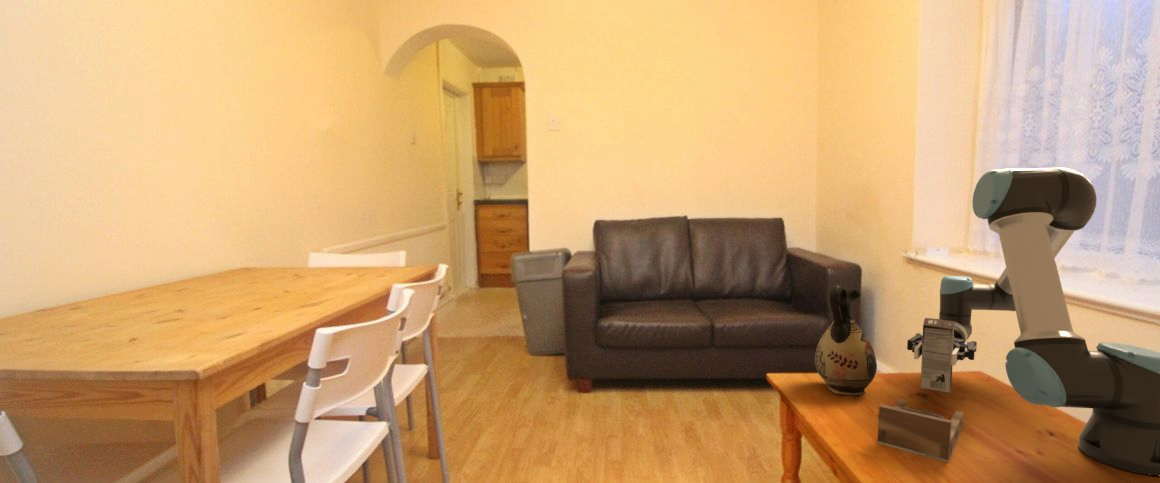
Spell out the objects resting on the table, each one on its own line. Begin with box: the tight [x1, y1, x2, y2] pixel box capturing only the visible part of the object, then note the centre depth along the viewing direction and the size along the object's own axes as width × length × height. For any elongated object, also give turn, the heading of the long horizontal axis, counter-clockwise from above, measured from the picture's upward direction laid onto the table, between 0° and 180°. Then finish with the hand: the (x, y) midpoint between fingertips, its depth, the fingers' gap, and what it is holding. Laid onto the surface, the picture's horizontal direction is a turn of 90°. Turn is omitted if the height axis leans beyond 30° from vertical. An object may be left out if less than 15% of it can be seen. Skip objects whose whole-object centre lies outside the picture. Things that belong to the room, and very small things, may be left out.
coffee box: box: [920, 317, 954, 393], centre depth 133 cm, size 9×6×16 cm
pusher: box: [902, 407, 945, 419], centre depth 120 cm, size 5×8×4 cm, turn 48°
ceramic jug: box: [814, 284, 878, 397], centre depth 146 cm, size 17×15×30 cm
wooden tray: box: [877, 398, 964, 463], centre depth 121 cm, size 22×13×8 cm, turn 138°
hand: (934, 356), depth 129 cm, fingers closed on coffee box, 7 cm apart
